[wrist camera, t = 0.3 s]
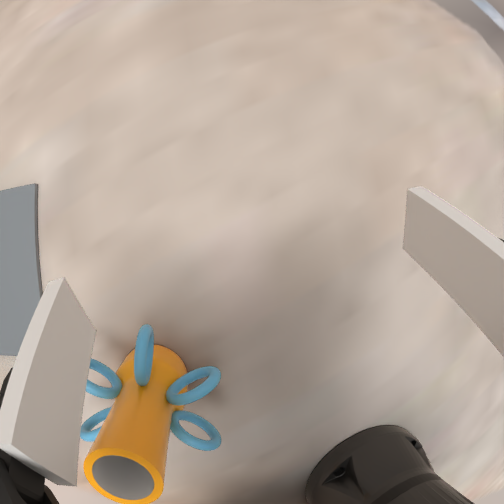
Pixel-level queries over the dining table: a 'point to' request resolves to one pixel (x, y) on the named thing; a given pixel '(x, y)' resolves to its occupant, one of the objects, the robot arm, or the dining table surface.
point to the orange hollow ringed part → (143, 420)
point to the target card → (18, 265)
